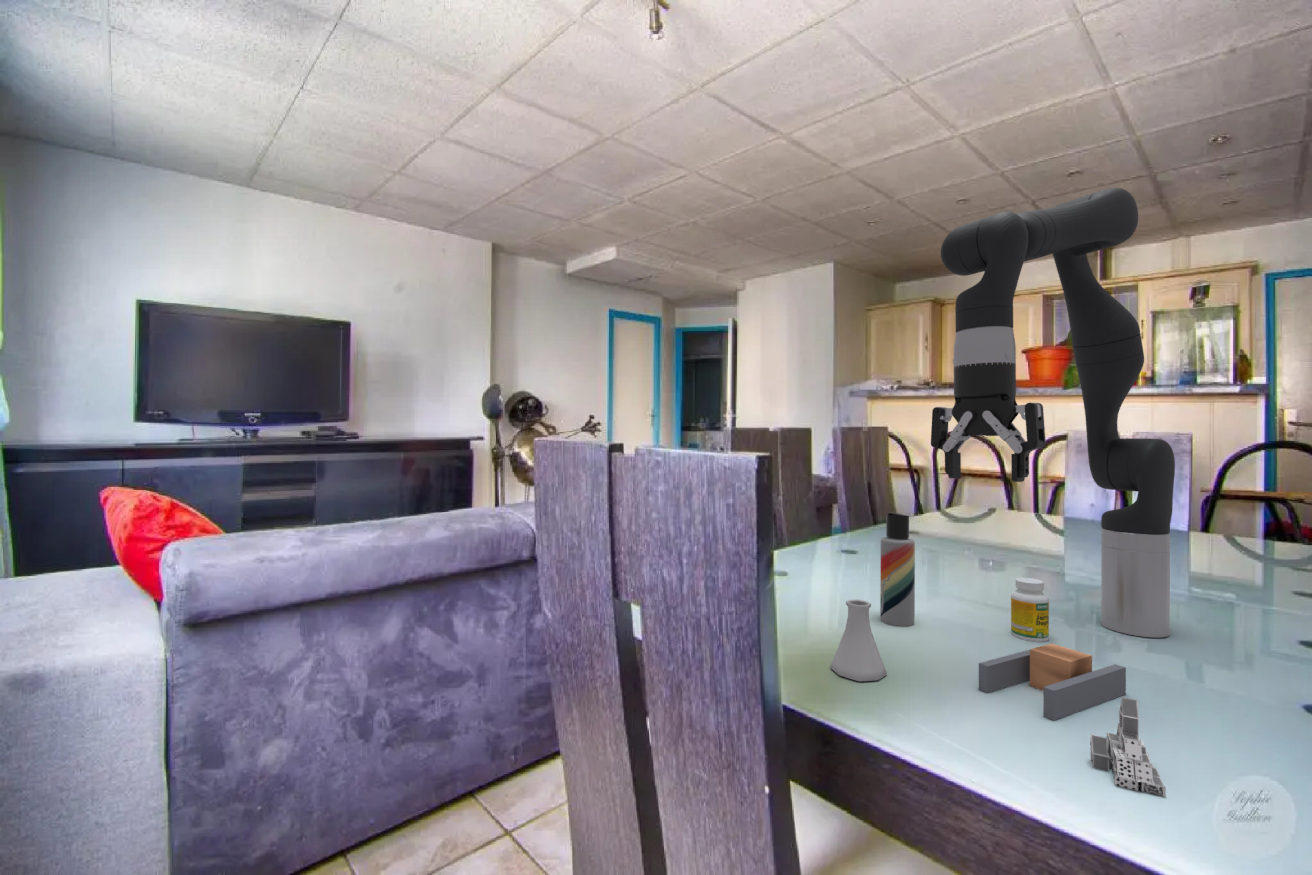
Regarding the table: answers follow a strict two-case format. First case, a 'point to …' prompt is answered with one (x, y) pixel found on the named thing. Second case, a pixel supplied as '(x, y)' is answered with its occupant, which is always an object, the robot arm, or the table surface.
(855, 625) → the flask
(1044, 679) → the terracotta block
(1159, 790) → the house of cards
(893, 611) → the lotion bottle
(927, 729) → the table surface
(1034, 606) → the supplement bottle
